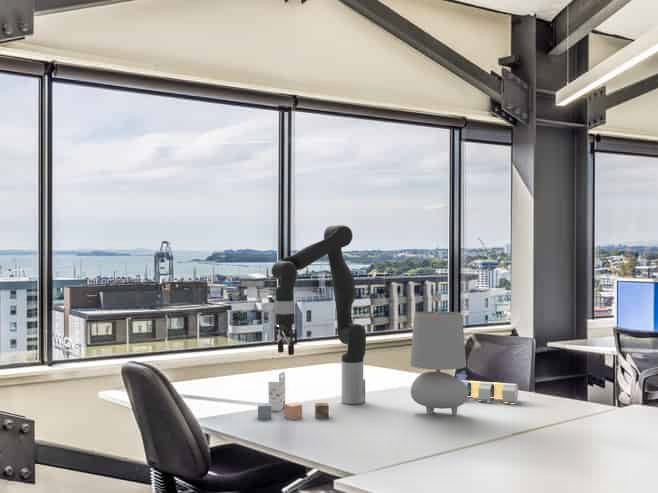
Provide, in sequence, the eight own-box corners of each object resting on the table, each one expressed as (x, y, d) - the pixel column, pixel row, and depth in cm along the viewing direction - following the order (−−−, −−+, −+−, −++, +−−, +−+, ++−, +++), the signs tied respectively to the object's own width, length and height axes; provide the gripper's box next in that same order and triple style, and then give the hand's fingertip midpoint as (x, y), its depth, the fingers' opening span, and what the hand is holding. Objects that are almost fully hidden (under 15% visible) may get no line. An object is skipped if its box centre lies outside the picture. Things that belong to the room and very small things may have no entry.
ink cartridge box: (273, 406, 299) (273, 370, 299) (285, 406, 298) (285, 370, 298) (267, 410, 290) (268, 373, 290) (279, 411, 289) (279, 374, 289)
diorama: (454, 401, 311) (454, 370, 311) (459, 396, 320) (459, 367, 320) (514, 405, 301) (514, 374, 302) (517, 401, 311) (517, 370, 311)
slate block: (271, 416, 281) (271, 403, 281) (271, 419, 276) (271, 406, 276) (258, 416, 280) (258, 403, 280) (257, 419, 275) (257, 406, 275)
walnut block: (327, 415, 281) (327, 402, 282) (328, 418, 276) (328, 405, 277) (315, 415, 281) (315, 403, 281) (315, 418, 276) (315, 405, 276)
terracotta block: (295, 415, 282) (295, 402, 282) (302, 418, 278) (302, 404, 278) (284, 417, 279) (284, 404, 279) (290, 419, 275) (290, 406, 275)
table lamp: (475, 411, 289) (474, 310, 289) (461, 422, 269) (461, 315, 270) (419, 406, 298) (419, 309, 299) (402, 417, 279) (402, 312, 279)
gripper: (302, 312, 280) (303, 354, 280) (284, 310, 292) (285, 350, 293) (285, 314, 276) (286, 356, 276) (268, 311, 289) (269, 352, 289)
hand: (285, 353), depth 284 cm, fingers open, 8 cm apart
